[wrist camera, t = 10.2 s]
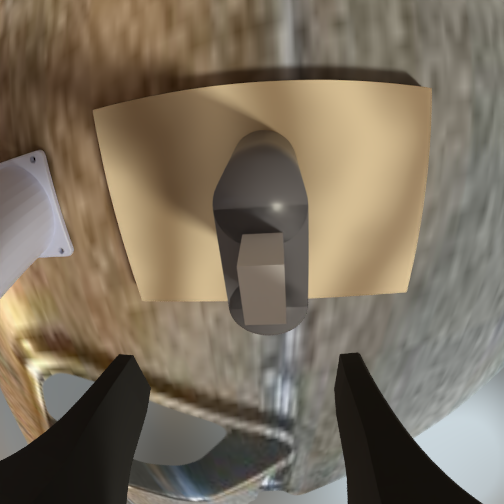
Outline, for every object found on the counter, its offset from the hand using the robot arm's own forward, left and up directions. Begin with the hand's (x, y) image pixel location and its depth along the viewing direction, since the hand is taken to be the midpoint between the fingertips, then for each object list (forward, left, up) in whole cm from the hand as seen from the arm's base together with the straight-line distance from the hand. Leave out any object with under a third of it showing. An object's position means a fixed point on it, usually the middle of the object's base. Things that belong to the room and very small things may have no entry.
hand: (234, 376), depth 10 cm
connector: (+1, +3, -9) cm, 10 cm away
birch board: (+1, +2, -10) cm, 11 cm away
